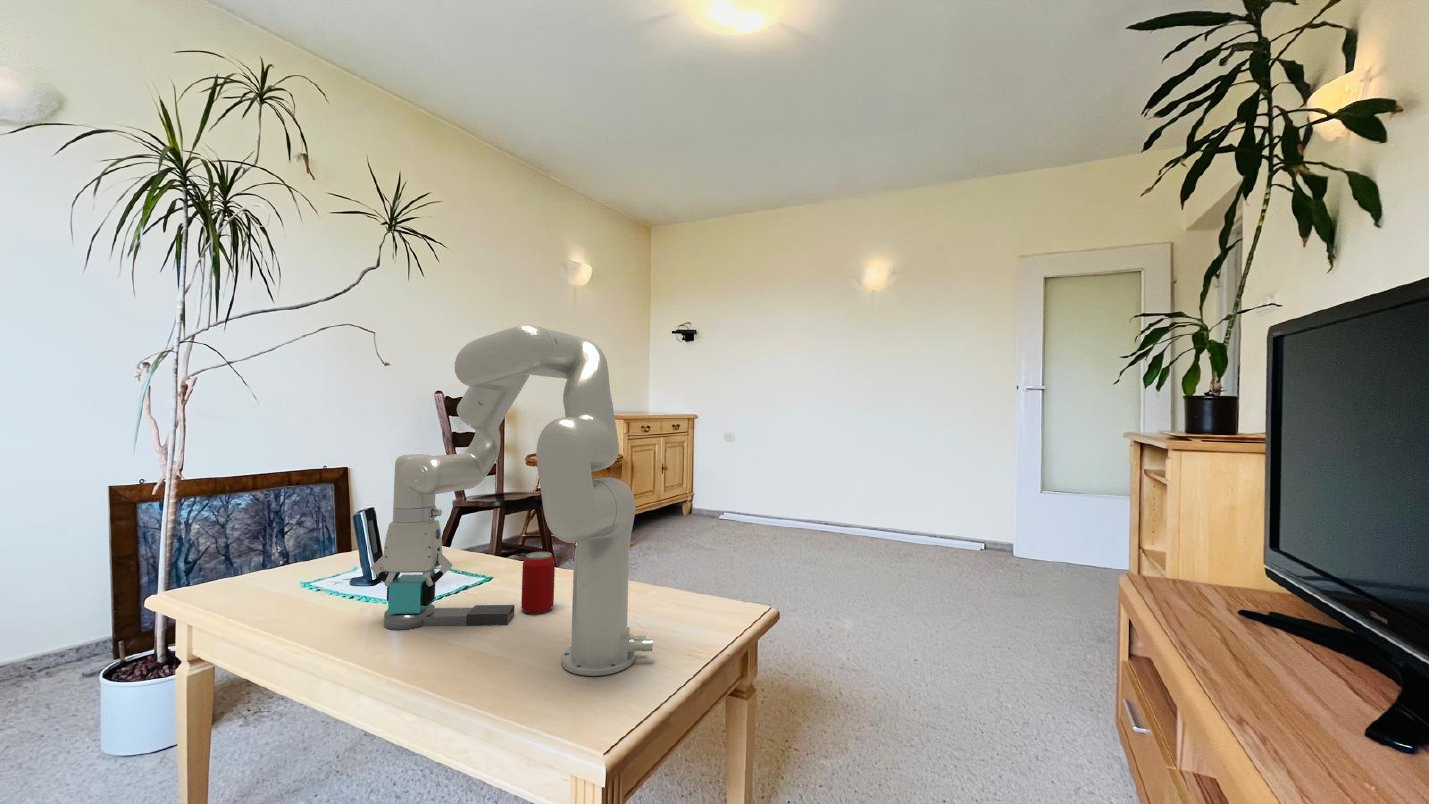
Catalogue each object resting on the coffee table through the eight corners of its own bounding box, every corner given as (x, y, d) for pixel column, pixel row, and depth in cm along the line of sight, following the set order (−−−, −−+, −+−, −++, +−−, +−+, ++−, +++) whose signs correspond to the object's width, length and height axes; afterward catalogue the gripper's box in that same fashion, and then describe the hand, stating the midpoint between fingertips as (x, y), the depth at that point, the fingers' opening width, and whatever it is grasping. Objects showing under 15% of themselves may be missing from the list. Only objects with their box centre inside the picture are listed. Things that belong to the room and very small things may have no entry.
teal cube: (432, 603, 114) (433, 574, 115) (419, 613, 108) (420, 582, 109) (402, 603, 114) (403, 574, 114) (387, 614, 108) (389, 583, 108)
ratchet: (516, 613, 117) (517, 582, 118) (504, 629, 109) (505, 596, 109) (396, 615, 115) (397, 583, 115) (374, 631, 106) (375, 597, 106)
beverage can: (558, 605, 122) (559, 551, 123) (546, 616, 116) (547, 559, 116) (529, 604, 123) (531, 550, 123) (515, 614, 116) (517, 557, 117)
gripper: (464, 512, 116) (461, 597, 116) (378, 511, 115) (375, 598, 114) (451, 518, 109) (447, 609, 108) (359, 518, 107) (355, 611, 106)
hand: (410, 603), depth 111 cm, fingers closed on teal cube, 6 cm apart
